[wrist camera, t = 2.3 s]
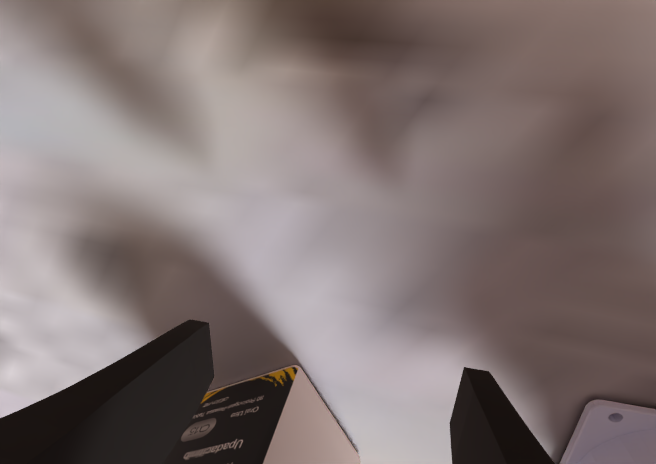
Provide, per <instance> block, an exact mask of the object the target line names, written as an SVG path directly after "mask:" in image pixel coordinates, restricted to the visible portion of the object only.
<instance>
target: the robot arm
mask: <svg viewBox="0 0 656 464" xmlns="http://www.w3.org/2000/svg"><path fill="white" fill-rule="evenodd" d="M213 378H214V370H213V360H212V350H211V340H210V330H209V323H207V322H201V321H195V320H188V321H186V322H184V323H182V324H181V325H179V326H177V327H175V328H174V329H172V330H170V331H168V332H167V333H165V334H163V335H162V336H160V337H158V338H156V339H155V340H153V341H151V342H150V343H148V344H146V345H144V346H143V347H141V348H139V349H138V350H136V351H134V352H132V353H131V354H129V355H127V356H125V357H124V358H122V359H120V360H118V361H117V362H115V363H113V364H111V365H109V366H107V367H106V368H104V369H102V370H100V371H98V372H96V373H94V374H92V375H91V376H89V377H87V378H85V379H83V380H81V381H79V382H77V383H76V384H74V385H72V386H70V387H68V388H66V389H64V390H62V391H60V392H58V393H56V394H54V395H51V396H49V397H47V398H45V399H43V400H41V401H39V402H36V403H34V404H32V405H30V406H28V407H25V408H23V409H21V410H19V411H17V412H14V413H12V414H10V415H7V416H5V417H2V418H0V464H163V463H164V461H165V460H166V458H167V457H168V455H169V453H170V452H171V450H172V449H173V447H174V446H175V444H176V443H177V441H178V440H179V438H180V437H181V435H182V434H183V432H184V430H185V429H186V427H187V426H188V424H189V423H190V421H191V420H192V418H193V416H194V415H195V413H196V412H197V410H198V408H199V406H200V404H201V402H202V400H203V398H204V396H205V394H206V392H207V390H208V388H209V386H210V384H211V382H212V380H213ZM613 413H615V414H613ZM450 435H451V451H452V464H555V463H554V462H553V461H552V459H551V458H550V457H549V455H548V454H547V453H546V451H545V450H544V449H543V447H542V446H541V445H540V443H539V442H538V441H537V439H536V438H535V437H534V435H533V434H532V432H531V431H530V430H529V428H528V427H527V425H526V424H525V423H524V421H523V420H522V418H521V417H520V416H519V414H518V413H517V411H516V410H515V408H514V407H513V406H512V404H511V403H510V401H509V400H508V398H507V397H506V395H505V394H504V392H503V391H502V389H501V388H500V387H499V385H498V384H497V382H496V381H495V379H494V378H493V376H492V375H491V374H490V372H489V371H483V370H477V369H471V368H466V367H464V370H463V374H462V378H461V382H460V385H459V389H458V393H457V397H456V401H455V405H454V409H453V413H452V417H451V421H450ZM560 464H656V409H652V408H646V407H640V406H635V405H629V404H623V403H618V402H612V401H606V400H592V401H590V402H589V403H588V404H587V405H586V406H585V408H584V411H583V413H582V415H581V417H580V420H579V422H578V424H577V426H576V428H575V431H574V433H573V435H572V437H571V440H570V442H569V444H568V446H567V448H566V451H565V453H564V455H563V457H562V460H561V462H560Z"/></svg>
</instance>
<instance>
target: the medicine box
mask: <svg viewBox="0 0 656 464" xmlns="http://www.w3.org/2000/svg"><path fill="white" fill-rule="evenodd" d="M163 464H360V457H359V455H358V453H357V452H356V450H355V449H354V447H353V446H352V444H351V443H350V441H349V440H348V438H347V437H346V435H345V434H344V432H343V431H342V429H341V428H340V426H339V425H338V423H337V422H336V420H335V418H334V417H333V415H332V414H331V412H330V411H329V409H328V408H327V406H326V405H325V403H324V402H323V400H322V399H321V397H320V396H319V394H318V393H317V391H316V390H315V388H314V387H313V385H312V384H311V382H310V381H309V379H308V378H307V376H306V375H305V373H304V372H303V370H302V369H301V368H300V367H299V366H298V365H292V366H289V367H285V368H282V369H279V370H276V371H273V372H269V373H266V374H263V375H260V376H257V377H253V378H250V379H247V380H244V381H241V382H237V383H234V384H231V385H228V386H225V387H221V388H218V389H215V390H212V391H209V392H206V394H205V396H204V398H203V400H202V402H201V404H200V406H199V408H198V410H197V412H196V413H195V415H194V416H193V418H192V420H191V421H190V423H189V424H188V426H187V427H186V429H185V430H184V432H183V434H182V435H181V437H180V438H179V440H178V441H177V443H176V444H175V446H174V447H173V449H172V450H171V452H170V453H169V455H168V457H167V458H166V460H165V461H164V463H163Z"/></svg>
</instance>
